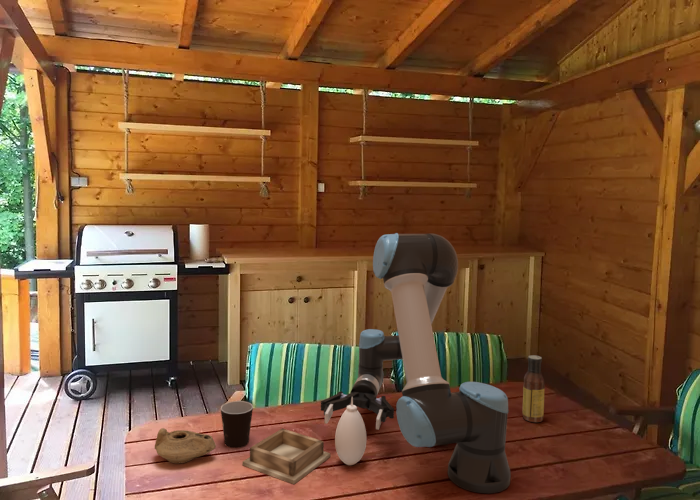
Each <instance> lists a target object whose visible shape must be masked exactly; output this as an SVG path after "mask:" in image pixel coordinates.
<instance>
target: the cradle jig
mask: <svg viewBox="0 0 700 500" xmlns="http://www.w3.org/2000/svg"><path fill="white" fill-rule="evenodd" d="M324 443H325V442H324V440H320V439H318V438H315V437H311V436H308V435H304V434H302V433H299V432H295V431H293V430H288V429H285V428H280V429H279V430H277V431H276V432H274V433H271V434H270V435H269V436H267V437H265V438H263V439H262V440H261V441H259V442H257V443H256V444H254V445H252V446H251V447H249V456H248V458H246V459H245V460H243V461H242V466H243V467H244V468H245V467H246V468H249V469H252V470H253V471H257V472H259V473H262V474H265V475H268V476H269V477H274V478H276V479H278V480H281V481H284V482H286V483H289V484H292V485H295V484H297V483H298V482H299V481H301V480H302V479H303V478H305V477H306V476H307V475H308V474H310V473H311V472H312V471H315V469H316V468H318V467H319V466H320V465H322V464H323V463H324V462H326V461H327V460H329V459H330V458H331V453H330V452H327V451H324V449H325V447H324Z"/></svg>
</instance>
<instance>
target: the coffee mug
mask: <svg viewBox="0 0 700 500" xmlns="http://www.w3.org/2000/svg"><path fill="white" fill-rule="evenodd" d="M253 409H254V406H253V404H252V403H251V402H249V401H243V400H236V401H235V400H234V401H229V402H226V403H223V404H222V405H221V406H220V416H221V424H222V430H223V440H224V444H225V446H226V447H228V448H232V449H233V448H234V449H239V448H243V447H246V446H247V445H248V444H249V441H250V433H251V426H252V425H251V424H252V418H253V417H252V416H253V411H254V410H253Z"/></svg>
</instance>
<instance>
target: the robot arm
mask: <svg viewBox="0 0 700 500" xmlns="http://www.w3.org/2000/svg"><path fill="white" fill-rule="evenodd" d="M373 251H374V252H373V258H372V269H373V274H374V275H375V277H376V279H377V278H378V279H379V280H383V287H384V288H385V289H387V290H388V291H390V293H391V299H392V304H393V311H394V317H395V322H396V328H397V333H398V335H397V334H395V335H385V333H384V331H383V330H380V329H375V328H374V329H373V328H368V329H364V330H362V331H361V332H360V335H359V344H358V369H357V371H358V372H357V378H356V380H355V382H354V384H353V386H352V387H351V389H350V392H349V393H348V394H344V393H343V391H338V392H337V393H336V394H334V395H332V396H329V397H327V398H325V399H323V400H321V401H320V411H322V412H323V416H324V424H328V423H329V421H330V419H331V418H332V416H333V413H334V412H335V411H339V410H343V409H347V406H348V405H351V398H352V397H353V405H355V406H356V407H357V408H360V409H367V410H368V411H369V412H370V411H372V412H374V413H375V414H376V415H377V416H376V419H375V421H376V422H375V430H380V427H381V424H382V423H385V422H386V421H387V418H389V419H394V418H395V417H394V415H395V413H396V419H397V424H398V426H399V430H400V432H401V434H402V436H403V438H404V439H405V440H406V442H407V443H408V444H409V445H411V446H412V447H416V448H425V447H427V448H432V447H436V446H442V445H443V446H445V445H451V444H456V445H455V447H454V449H453V451H452V454H451V457H450V459H449V461H448V464H447V475H448V479H449V480H450V481H451V482H452V483H453V484H455V485H456V486H457V487H458V488H459V487H460V488H462V489H464V490H465V491H469V492H473V493H479V494H496V493H499V492H503V491H505V490H506V489H508V487H509V486H510V484H511V475H512V474H511V473H512V472H511V469H510V465H509V462H508V458H507V454H506V438H507V427H508V426H507V425H508V414H509V412H510V411H509V397H508V396H507V394H506V392H504V391H503V390H502V389H500V388H498V387H497V386H496V387H495V386H493V385H491V384H488V383H484V382H478V381H465V382H463V383H461V384H460V386H459V391H455V392H451V386H450V382H448V381H447V380H445V379H444V378H443V377H442V374H441V373H442V372H441V367H440V362H439V357H438V353H437V347H436V342H435V338H434V332H433V327H432V325H433V322H434V321H435V320H434V319H435V317H436V314H437V312H438V311H439V308H440V305H441V304H442V301H443V299H444V296H445V293H446V292H447V290H448V288H449V287H451V286H452V285H453V284H454V282H455V280H456V278H457V275H458V272H459V271H458V270H459V259H458V255H457V251H456V250H455V248H454V246H453V245H452V243H451V242H450V241H449V240H448V239H447V238H445V237H444V236H442V235H440V234H436V233H398V232H395V233H390V234H389V233H388V234H383V235H381V236H380V237H379V238H378V240H377V242H376V243H375V247H374V250H373ZM396 360H402V363H403V369H404V375H405V376H404V377H405V381H406V384H405V385H404V387H403V389H402V390H401V394H402V396H401V397H400V398H398V400H397V402H396V405H395V406H396V410H395V408H394V407H393V406H392V405H391V403H389V401H388V400H387V398H386V396H385V395H381V397H379V398H377V397H378V393H379V391H380V389H381V387H382V384H383V383H384V376H385V375H384V371H383V370H384V369H383V367H384V366H383V365H384V362H385V361H396ZM395 411H396V412H395Z"/></svg>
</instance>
